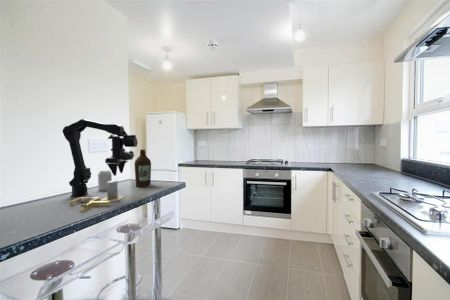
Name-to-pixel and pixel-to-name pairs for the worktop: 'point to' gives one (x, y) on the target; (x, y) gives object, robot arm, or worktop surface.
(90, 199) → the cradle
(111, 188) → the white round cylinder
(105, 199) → the wooden panel
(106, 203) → the yellow l-shaped bracket
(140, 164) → the olive oil
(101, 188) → the can
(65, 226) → the worktop surface
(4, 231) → the worktop surface
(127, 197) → the worktop surface
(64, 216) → the worktop surface
